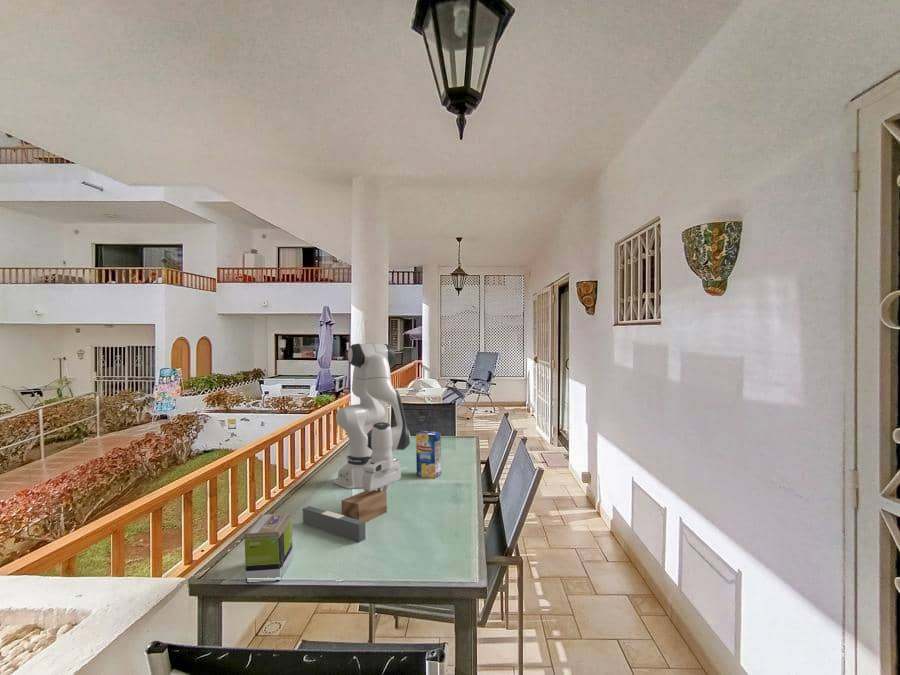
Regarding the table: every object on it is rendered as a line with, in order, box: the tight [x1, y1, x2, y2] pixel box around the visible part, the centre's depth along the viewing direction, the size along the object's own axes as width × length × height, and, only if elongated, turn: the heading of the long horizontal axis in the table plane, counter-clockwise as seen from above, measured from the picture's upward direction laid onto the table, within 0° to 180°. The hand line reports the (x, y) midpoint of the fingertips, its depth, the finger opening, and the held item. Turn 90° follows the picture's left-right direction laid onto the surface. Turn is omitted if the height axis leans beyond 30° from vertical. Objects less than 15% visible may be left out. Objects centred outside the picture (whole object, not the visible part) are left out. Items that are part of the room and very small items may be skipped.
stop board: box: [302, 505, 367, 543], centre depth 168 cm, size 30×3×6 cm, turn 56°
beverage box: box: [415, 430, 442, 479], centre depth 237 cm, size 7×11×22 cm, turn 63°
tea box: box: [244, 512, 294, 579], centre depth 140 cm, size 15×10×15 cm, turn 5°
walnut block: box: [341, 489, 388, 524], centre depth 182 cm, size 9×16×8 cm, turn 148°
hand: (382, 496), depth 190 cm, fingers closed
